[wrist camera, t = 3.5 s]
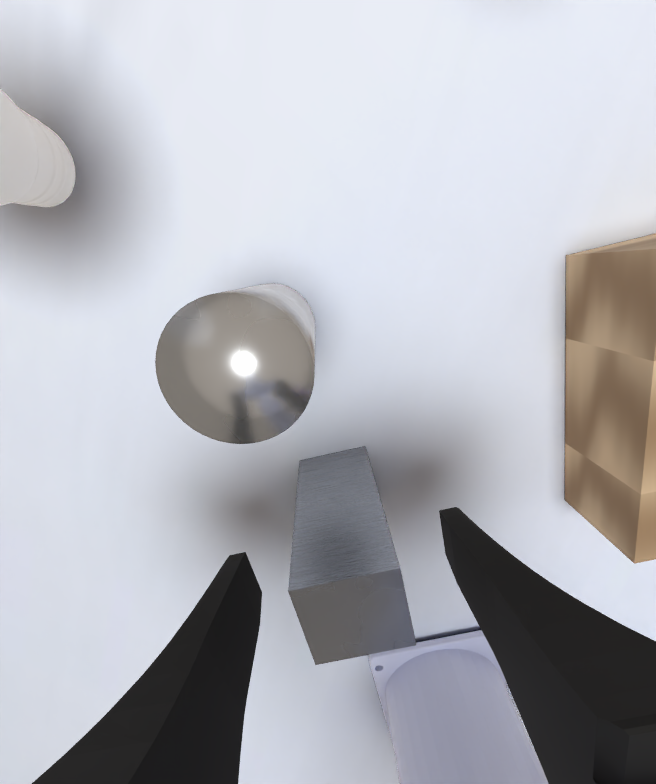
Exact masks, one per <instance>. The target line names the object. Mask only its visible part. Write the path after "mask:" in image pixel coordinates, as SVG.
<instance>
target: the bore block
mask: <svg viewBox="0 0 656 784" xmlns="http://www.w3.org/2000/svg"><path fill="white" fill-rule="evenodd" d="M565 501H566V502H567V503H568V504H570V505H571V506H572V507H573V508H574V509H575V510H576V511H577V512H578V513H579V514H581V515H582V516H583V517H584V518H585V519H586V520H587V521H588V522H589V523H590V524H592V525H593V526H594V527H595V528H596V529H597V530H598V531H599V532H600V533H601V534H602V535H604V536H605V537H606V538H607V539H608V540H609V541H610V542H611V543H612V544H613V545H615V546H616V547H617V548H618V549H619V550H620V551H621V552H622V553H623V554H624V555H626V556H627V557H628V558H629V559H630V560H631V561H632V562H633V563H639V562H644V561H649V560H654V559H656V234H652V235H648V236H644V237H640V238H636V239H631V240H627V241H623V242H619V243H615V244H611V245H607V246H603V247H599V248H594V249H590V250H586V251H582V252H578V253H574V254H570V255H566V396H565Z"/></svg>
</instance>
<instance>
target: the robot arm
mask: <svg viewBox="0 0 656 784" xmlns="http://www.w3.org/2000/svg"><path fill="white" fill-rule="evenodd" d="M439 512H440V519H441V526H442V532H443V539H444V546H445V553H446V556H447V559H448V561H449V564H450V566H451V569H452V571H453V574H454V576H455V579H456V581H457V584H458V586H459V588H460V589H461V591H462V593H463V595H464V597H465V599H466V601H467V603H468V605H469V607H470V609H471V611H472V613H473V615H474V617H475V618H476V620H477V622H478V624H479V626H480V628H481V630H479V631H474V632H468V633H463V634H458V635H453V636H448V637H443V638H438V639H433V640H428V641H422V642H417V643H416V645H415V646H410V647H405V648H400V649H395V650H389V651H384V652H379V653H374V654H369V664H370V668H371V671H372V675H373V678H374V681H375V685H376V688H377V692H378V695H379V699H380V702H381V706H382V709H383V713H384V716H385V719H386V723H387V726H388V730H389V733H390V737H391V740H392V744H393V746H394V751H395V757H396V763H397V769H398V776H399V782H400V784H656V641H654V640H652V639H650V638H648V637H646V636H644V635H642V634H639V633H637V632H635V631H633V630H631V629H629V628H627V627H625V626H624V625H622V624H620V623H618V622H616V621H614V620H613V619H611V618H609V617H607V616H605V615H604V614H602V613H600V612H598V611H596V610H595V609H593V608H591V607H589V606H587V605H586V604H584V603H582V602H581V601H579V600H577V599H576V598H574V597H572V596H571V595H569V594H568V593H566V592H564V591H563V590H561V589H560V588H558V587H557V586H555V585H553V584H552V583H550V582H549V581H547V580H546V579H544V578H543V577H542V576H540V575H539V574H537V573H536V572H534V571H533V570H532V569H530V568H529V567H528V566H526V565H525V564H524V563H522V562H521V561H519V560H518V559H517V558H516V557H514V556H513V555H512V554H510V553H509V552H508V551H507V550H505V549H504V548H503V547H502V546H500V545H499V544H498V543H497V542H496V541H494V540H493V539H492V538H491V537H490V536H488V535H487V534H486V533H485V532H484V531H483V530H482V529H480V528H479V527H478V526H477V525H476V524H475V523H474V522H473V521H472V520H470V519H469V518H468V517H467V516H466V515H465V514H464V513H463V512H462V511H461V510H460V509H459V508H457V507H454V508H449V509H445V510H440V511H439ZM261 599H262V591H261V589H260V586H259V584H258V582H257V579H256V577H255V574H254V572H253V569H252V567H251V565H250V562H249V560H248V557H247V555H246V552H244V553H239V554H234V555H230V556H229V557H228V558H227V560H226V561H225V563H224V564H223V566H222V567H221V569H220V570H219V572H218V573H217V575H216V577H215V578H214V580H213V581H212V583H211V584H210V586H209V587H208V589H207V590H206V592H205V593H204V595H203V596H202V598H201V599H200V601H199V602H198V603H197V605H196V606H195V608H194V609H193V611H192V612H191V614H190V615H189V616H188V618H187V619H186V621H185V622H184V623H183V625H182V626H181V627H180V629H179V630H178V631H177V633H176V634H175V636H174V637H173V638H172V640H171V641H170V642H169V643H168V645H167V646H166V647H165V649H164V650H163V651H162V652H161V654H160V655H159V656H158V657H157V658H156V660H155V661H154V662H153V663H152V664H151V666H150V667H149V668H148V669H147V670H146V671H145V673H144V674H143V675H142V676H141V677H140V678H139V680H138V681H137V682H136V683H135V684H134V685H133V686H132V687H131V688H130V689H129V690H128V691H127V692H126V694H125V695H124V696H123V697H122V698H121V699H120V700H119V701H118V702H117V703H116V704H115V705H114V707H113V708H112V709H111V710H110V711H109V712H108V713H107V714H106V715H105V716H104V717H103V718H102V719H101V720H100V721H99V722H98V723H97V724H96V725H95V726H94V727H93V728H92V729H91V730H90V731H89V732H88V733H87V734H86V735H85V736H84V737H83V738H82V739H80V740H79V741H78V742H77V743H76V744H75V745H74V746H73V747H72V748H71V749H70V750H69V751H68V752H67V753H66V754H65V755H64V756H62V757H61V758H60V759H59V760H58V761H57V762H56V763H55V764H53V765H52V766H51V767H50V768H49V769H48V770H47V771H46V772H44V773H43V774H42V775H41V776H40V777H39V778H38V779H37V780H35V781H34V782H33V783H32V784H238V776H239V764H240V752H241V742H242V732H243V721H244V713H245V706H246V699H247V694H248V688H249V682H250V677H251V671H252V666H253V660H254V655H255V649H256V643H257V638H258V632H259V626H260V615H261ZM506 682H507V684H508V686H509V689H510V691H511V694H512V696H513V698H514V701H515V703H516V705H517V708H518V710H519V712H520V715H521V717H522V720H523V722H524V725H525V727H526V729H527V732H528V734H529V737H530V739H531V741H532V744H533V746H534V748H533V746H532V744H531V742H530V740H529V738H528V735H527V733H526V731H525V729H524V727H523V724H522V722H521V720H520V718H519V716H518V714H517V711H516V709H515V707H514V705H513V703H512V700H511V698H510V696H509V694H508V692H507V685H506ZM534 749H535V751H536V753H535V751H534ZM536 754H537V755H536ZM537 756H538V757H537ZM539 761H540V762H539Z"/></svg>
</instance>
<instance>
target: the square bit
mask: <svg viewBox="0 0 656 784" xmlns="http://www.w3.org/2000/svg"><path fill="white" fill-rule="evenodd" d="M288 592H289V594H290V597H291V600H292V603H293V605H294V608H295V611H296V613H297V616H298V619H299V621H300V624H301V627H302V629H303V632H304V635H305V638H306V640H307V643H308V646H309V648H310V651H311V654H312V656H313V659H314V662H315V664H316V665H318V664H323V663H328V662H333V661H338V660H343V659H349V658H354V657H359V656H364V655H369V654H374V653H379V652H384V651H389V650H395V649H400V648H405V647H410V646H415V645H416V641H415V636H414V631H413V627H412V622H411V617H410V612H409V608H408V603H407V598H406V594H405V589H404V584H403V579H402V575H401V570H400V566H399V563H398V559H397V556H396V552H395V549H394V545H393V542H392V538H391V535H390V531H389V528H388V524H387V521H386V517H385V513H384V510H383V506H382V503H381V499H380V496H379V492H378V489H377V485H376V482H375V478H374V475H373V471H372V468H371V464H370V461H369V457H368V454H367V450H366V447H365V446H363V447H359V448H354V449H350V450H345V451H341V452H336V453H332V454H327V455H323V456H319V457H314V458H310V459H305V460H301V461H300V463H299V475H298V486H297V497H296V509H295V520H294V532H293V543H292V555H291V566H290V578H289V589H288Z"/></svg>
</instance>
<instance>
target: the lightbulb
mask: <svg viewBox="0 0 656 784" xmlns="http://www.w3.org/2000/svg"><path fill="white" fill-rule="evenodd" d="M75 177H76V174H75V166H74V162H73V158H72V156H71V154H70V151H69V149H68V148H67V146H66V145H65V143H64V142H63V140H62V139H61V138H60V137H59V136H58V135H57V134H56V133H55V132H54V131H53V130H52V129H50V128H49V127H47V126H46V125H44V124H43V123H41V122H40V121H39V120H38V119H36V118H34V117H33V116H31V115H29V114H28V113H27V112H25V111H23V110H22V109H20V108H18V107H17V105H16V104H15V103H14V102H13V101H12V100H11V99H10V97H9V96H8V95H7V94H6V93H5V92H4V91H2V90H1V89H0V205H6V204H9V203H16V204H22V205H29V206H30V205H34V206H40V207H53V206H57V205H59V204H61V203H63V202H64V201H65V200H66V199H67V198H68V197H69V196H70V194H71V193H72V191H73V188H74V185H75Z"/></svg>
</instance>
